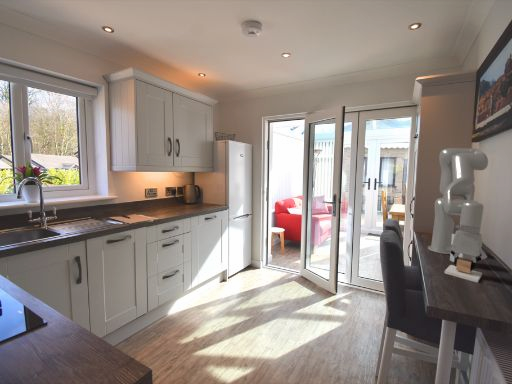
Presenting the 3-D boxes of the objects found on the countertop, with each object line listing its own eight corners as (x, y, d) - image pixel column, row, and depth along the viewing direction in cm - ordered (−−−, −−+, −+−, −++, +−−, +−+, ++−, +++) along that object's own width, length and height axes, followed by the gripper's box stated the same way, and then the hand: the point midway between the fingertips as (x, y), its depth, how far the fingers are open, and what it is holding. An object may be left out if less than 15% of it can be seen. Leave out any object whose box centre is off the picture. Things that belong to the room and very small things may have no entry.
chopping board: (450, 267, 130) (450, 264, 130) (481, 275, 121) (482, 272, 121) (444, 273, 122) (444, 270, 122) (477, 282, 113) (478, 279, 113)
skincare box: (472, 266, 132) (476, 237, 130) (460, 266, 132) (465, 237, 130) (459, 260, 140) (462, 233, 139) (448, 260, 140) (451, 232, 138)
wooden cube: (458, 266, 125) (459, 256, 124) (471, 270, 121) (473, 260, 121) (455, 269, 122) (457, 259, 121) (469, 273, 118) (471, 262, 117)
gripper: (444, 226, 123) (439, 264, 125) (493, 235, 110) (487, 276, 113) (448, 224, 128) (443, 260, 130) (495, 232, 116) (489, 272, 118)
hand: (463, 267), depth 121 cm, fingers closed on wooden cube, 4 cm apart
